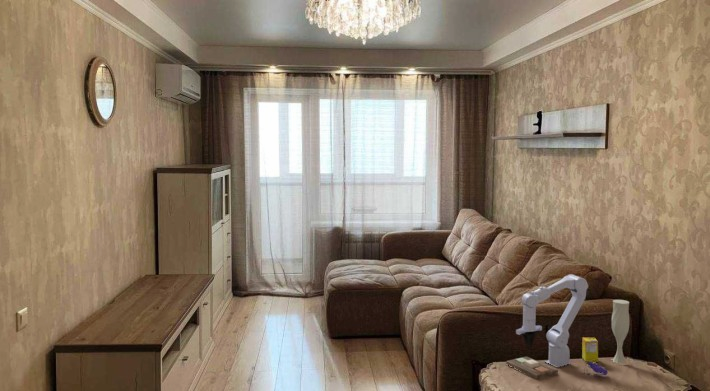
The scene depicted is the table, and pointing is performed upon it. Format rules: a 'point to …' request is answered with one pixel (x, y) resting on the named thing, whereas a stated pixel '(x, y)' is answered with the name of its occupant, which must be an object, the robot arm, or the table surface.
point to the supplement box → (589, 349)
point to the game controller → (597, 368)
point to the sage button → (521, 360)
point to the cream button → (531, 363)
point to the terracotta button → (541, 369)
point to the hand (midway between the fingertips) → (528, 346)
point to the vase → (620, 326)
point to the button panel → (533, 369)
